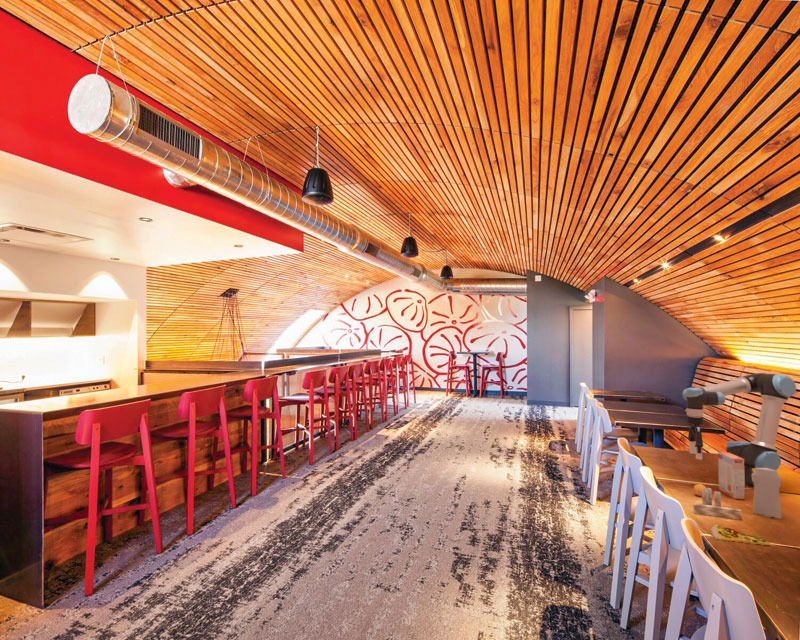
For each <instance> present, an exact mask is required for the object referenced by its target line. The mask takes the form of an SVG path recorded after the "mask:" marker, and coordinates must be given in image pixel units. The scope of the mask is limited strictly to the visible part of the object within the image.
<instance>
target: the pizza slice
mask: <svg viewBox="0 0 800 640" xmlns="http://www.w3.org/2000/svg"><path fill="white" fill-rule="evenodd" d="M711 534H712V535H711ZM710 535H711V537H712V536H713V537H714V538H715V539H723V540H730V541H736V542H735V543H737V542H743V543H742V544H746V543H751V544H750V545H755V544H761V545H760V546H764V545H771V546H770V547H773V546H775V547H776V544H773V543H771V542H769V541H768V540H767V541H766V539H764V538H758V537H757V536H755V535H750V534H746V533H745V532H744V533H743V532H740V531H738V530H736V529H734V528H730V527H726V526H724V525H723V526H721V525H718V524H714V525H713V526H712V527H711V529H710ZM713 537H712V538H713ZM714 538H713V539H714ZM715 539H714V540H715Z"/></svg>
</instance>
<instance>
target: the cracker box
mask: <svg viewBox="0 0 800 640" xmlns="http://www.w3.org/2000/svg"><path fill="white" fill-rule="evenodd" d="M717 456H718V459H717V460H718V463H717V464H718V465H717V466H718V491H719V492H721V493H722V494H723V493H724V494H725V495H726V496H728V497H730V498H731V499H734V500H743V499H744V501H745V500H746V493H745V492H746V487H745V486H746V485H745V475H744V459H743V458H740V457H738V456H736V455H734V454H731V453H728V452H725V451H718V453H717Z"/></svg>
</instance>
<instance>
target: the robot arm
mask: <svg viewBox="0 0 800 640" xmlns="http://www.w3.org/2000/svg"><path fill="white" fill-rule="evenodd" d="M796 392H797V385H796V383H795V381H794V380H793V378H791V377H790V376H788V375H785V374H779V373H778V374H777V373H766V372H759V373H753V374H752V373H751V374H746V375H743V376H739V377H737V378H736V379H734V380H729V381H724V382H719V383H716V384H711V385H706V386H701V387H688V388H685V389H684V390H683V391H682V395H681V396H682V398H683V400H684V401H686V402H685V403H686V409H685V412H686V415H687V416H686V423H687V424H688V435H687V436H688V437H687V438H688V441H689V442H688V443H689V445H688V447H689V450H688V451H689V454H692V455H693V454H695V459H696V460H701V461H702V460H703V447H704V442H703V441H704V440H703V434H702V427H700V426H701V425H702V426H703V425H704V406H710V407H712V406H716V407H717V406H718V407H719V406H723V405H724V404H725V403H726V398H725V396H731V395H736V394H741V393H743V394H748V393H757V394H759V395H760V397H761V398H762V403H761V408H760V412H759V416H758V421H757V427H756V431H755V437H754V440H753V441H741V440H729V441H727V442H726V448H725V449H726V450H725V451H726V452H728V453H731V454H734V455H736V456H738V457H740V458H743V459H744V475H745V486H747V485H753V484H754V483H753V481H752V473H754V471H753V469H754V470H755V468H769V469H772V470H776V471H777V470H778V469H779V468H780V466H781V465H782V464H781V463H782V459H781V456H780V455H779V454H778V448H776V445H775V444H776V439H777V435H778V434H777V433H778V430H779V425H780V420H781V416H782V413H783V412H782V411H783V408H784V403H786V402H788V401H789V398H791V397H793V396H794V395H795V394H796Z"/></svg>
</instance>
